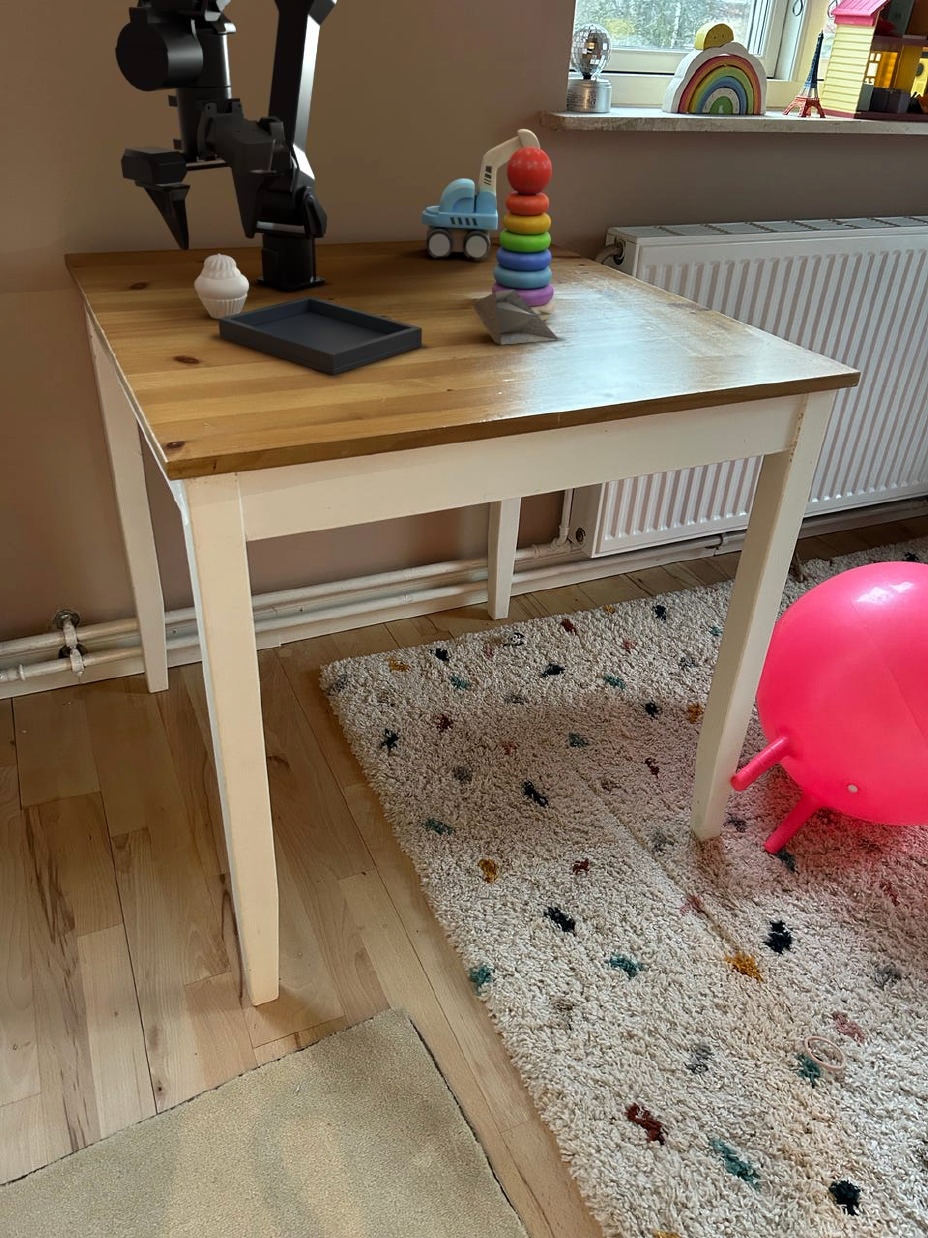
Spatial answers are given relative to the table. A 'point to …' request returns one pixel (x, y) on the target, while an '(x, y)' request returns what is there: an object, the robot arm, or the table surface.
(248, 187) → the robot arm
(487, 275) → the table surface
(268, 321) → the tray
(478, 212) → the toy excavator
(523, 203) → the stacking toy
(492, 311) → the paper boat
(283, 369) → the table surface
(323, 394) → the table surface
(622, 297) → the table surface
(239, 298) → the muffin
